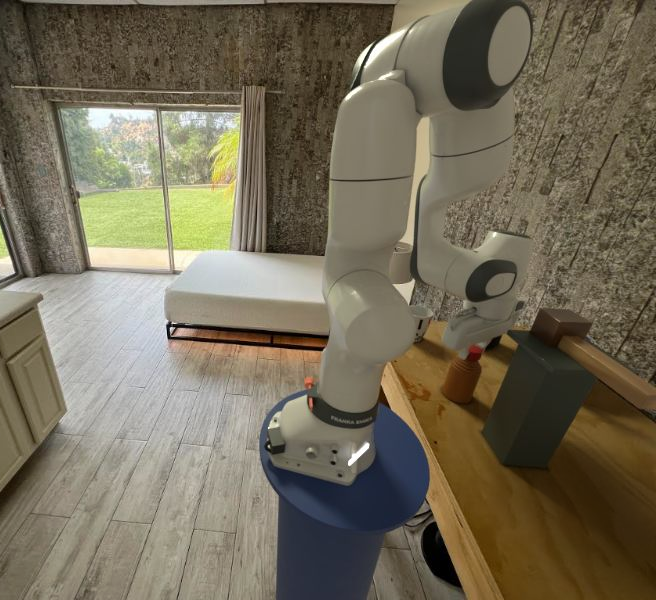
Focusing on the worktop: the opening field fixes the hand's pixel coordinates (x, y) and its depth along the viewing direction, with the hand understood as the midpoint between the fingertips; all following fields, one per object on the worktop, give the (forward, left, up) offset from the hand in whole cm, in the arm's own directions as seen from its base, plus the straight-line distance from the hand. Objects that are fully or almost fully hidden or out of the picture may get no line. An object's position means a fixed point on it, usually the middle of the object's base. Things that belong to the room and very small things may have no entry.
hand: (470, 354), depth 76 cm
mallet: (+4, -21, +14) cm, 26 cm away
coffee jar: (+18, +26, -13) cm, 34 cm away
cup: (-2, +27, -13) cm, 30 cm away
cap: (0, 0, +2) cm, 2 cm away
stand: (+4, -17, -12) cm, 21 cm away
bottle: (0, 0, -12) cm, 12 cm away
